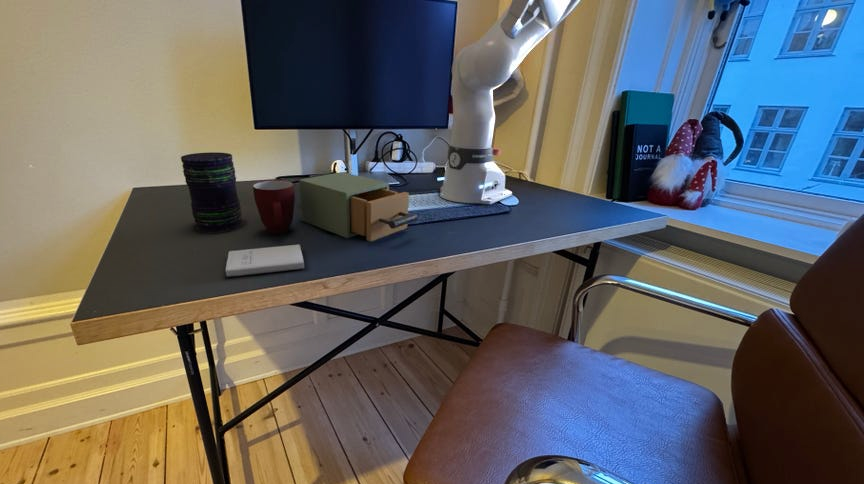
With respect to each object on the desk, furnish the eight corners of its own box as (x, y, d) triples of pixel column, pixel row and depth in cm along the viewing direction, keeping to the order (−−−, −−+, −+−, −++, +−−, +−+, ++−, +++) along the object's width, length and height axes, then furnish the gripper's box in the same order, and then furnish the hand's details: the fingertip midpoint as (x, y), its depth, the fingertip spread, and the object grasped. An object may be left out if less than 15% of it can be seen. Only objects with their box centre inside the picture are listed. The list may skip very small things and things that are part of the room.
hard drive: (304, 270, 63) (226, 278, 59) (300, 251, 70) (230, 257, 66) (303, 261, 62) (225, 269, 59) (299, 243, 69) (229, 249, 66)
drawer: (423, 233, 77) (425, 196, 74) (386, 247, 70) (387, 208, 66) (361, 213, 89) (360, 181, 85) (324, 224, 81) (322, 189, 78)
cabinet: (388, 224, 84) (389, 182, 80) (347, 238, 76) (346, 192, 72) (343, 209, 94) (341, 171, 90) (302, 220, 85) (299, 179, 81)
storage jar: (185, 227, 80) (169, 157, 73) (222, 215, 88) (210, 150, 81) (217, 236, 76) (202, 162, 69) (252, 222, 84) (243, 155, 77)
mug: (305, 238, 76) (301, 190, 71) (265, 244, 72) (258, 194, 68) (292, 223, 84) (288, 179, 80) (256, 227, 81) (249, 182, 76)
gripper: (614, -147, 33) (507, 13, 39) (610, -30, 50) (536, 68, 56) (558, -173, 34) (464, -16, 41) (572, -51, 52) (505, 46, 58)
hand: (506, 33), depth 49 cm, fingers closed
